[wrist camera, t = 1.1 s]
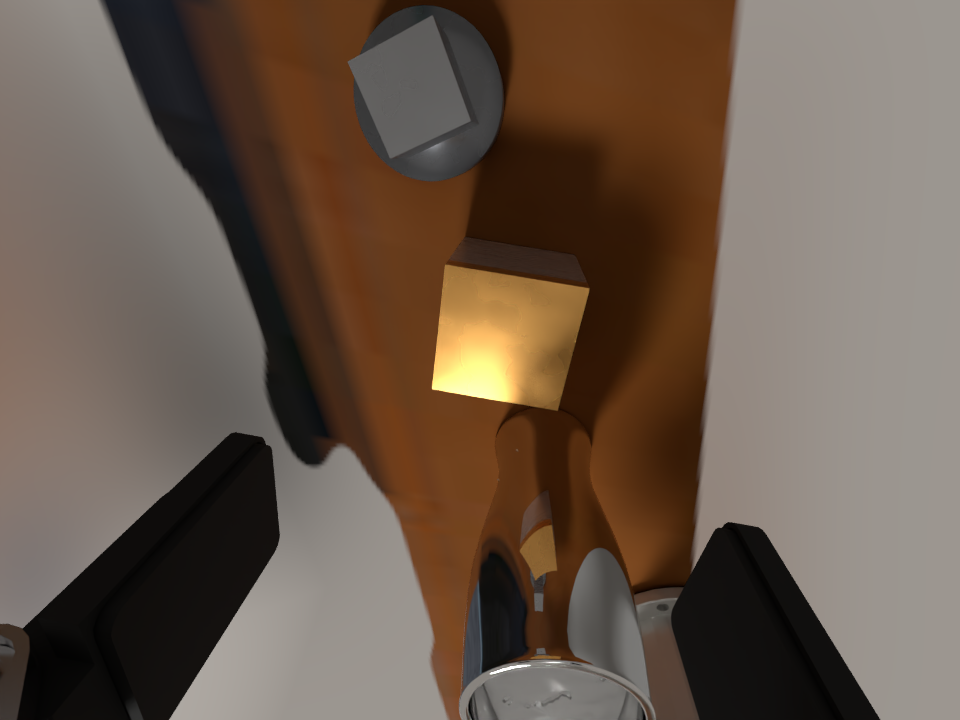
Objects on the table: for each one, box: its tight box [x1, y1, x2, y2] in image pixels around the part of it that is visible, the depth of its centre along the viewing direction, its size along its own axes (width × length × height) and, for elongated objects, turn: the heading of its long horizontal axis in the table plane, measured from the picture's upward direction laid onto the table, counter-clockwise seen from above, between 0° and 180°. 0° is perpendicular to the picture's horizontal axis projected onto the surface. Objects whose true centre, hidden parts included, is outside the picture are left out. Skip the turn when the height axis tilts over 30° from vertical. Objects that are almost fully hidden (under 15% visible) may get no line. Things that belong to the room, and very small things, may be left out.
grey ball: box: [348, 5, 505, 181], centre depth 18 cm, size 6×6×5 cm
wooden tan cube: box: [432, 237, 590, 411], centre depth 21 cm, size 6×6×6 cm
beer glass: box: [459, 407, 656, 720], centre depth 21 cm, size 7×7×15 cm
